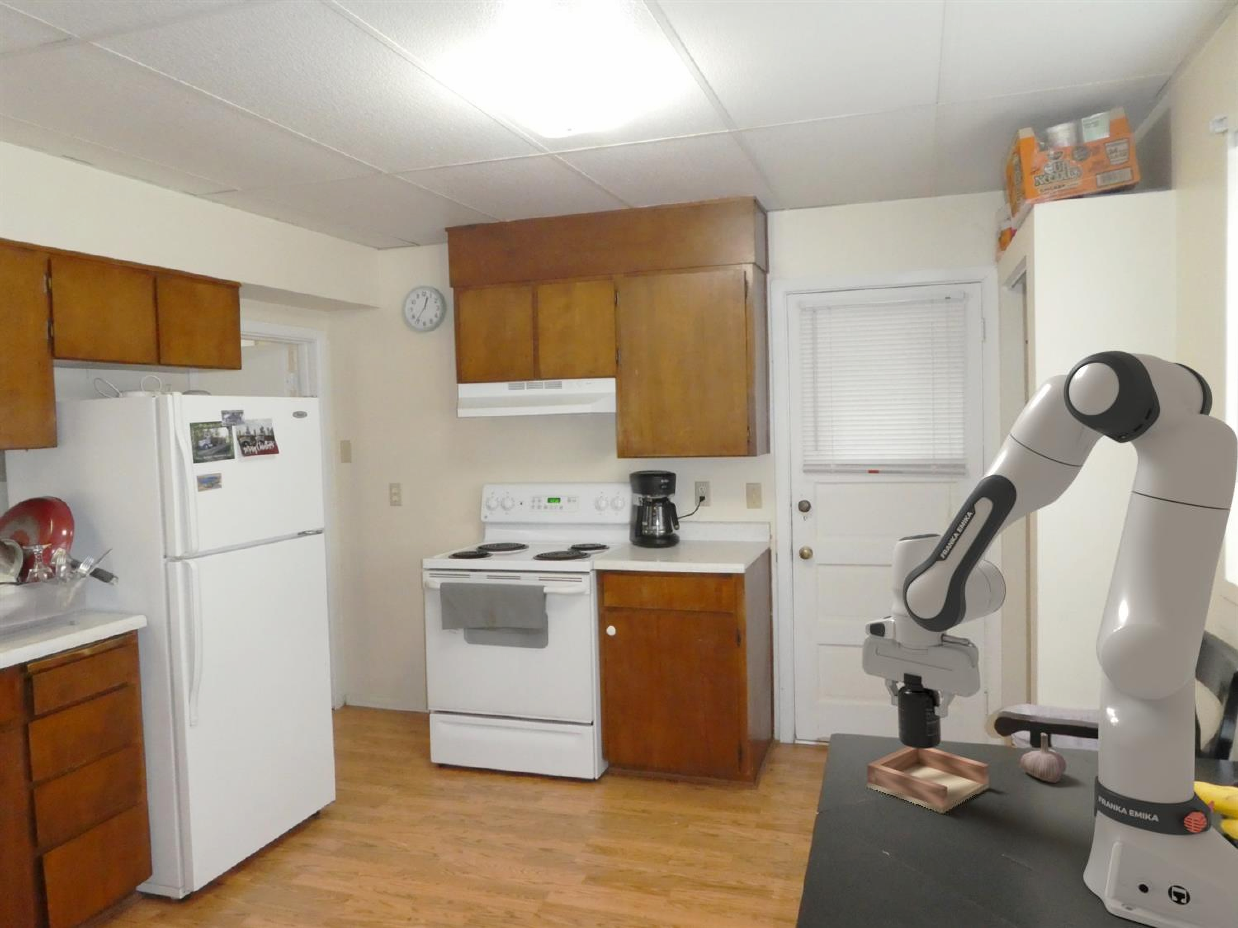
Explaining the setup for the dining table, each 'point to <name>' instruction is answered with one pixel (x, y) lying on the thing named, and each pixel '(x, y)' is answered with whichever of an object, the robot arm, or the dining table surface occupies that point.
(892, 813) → the dining table surface
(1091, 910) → the dining table surface
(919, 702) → the supplement bottle
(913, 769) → the open-sided tray
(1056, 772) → the garlic bulb
